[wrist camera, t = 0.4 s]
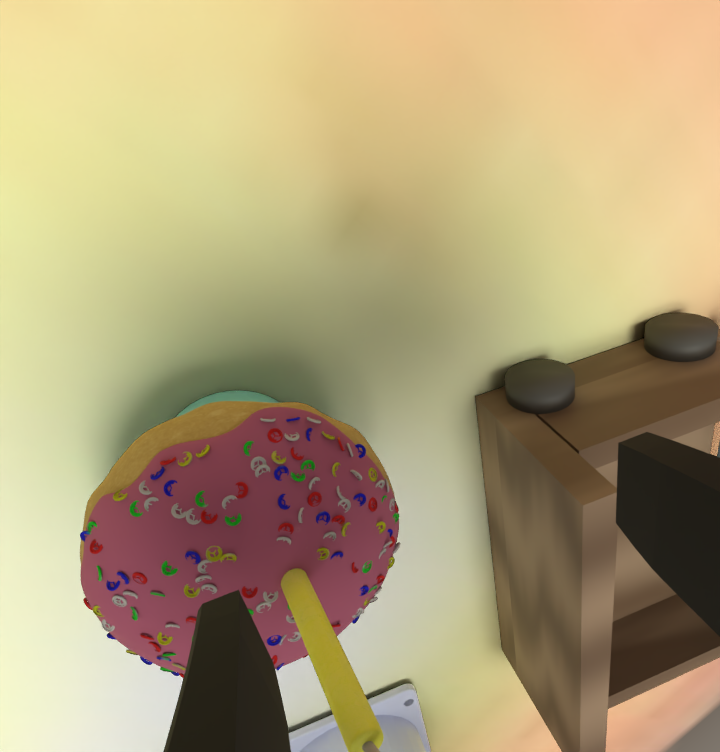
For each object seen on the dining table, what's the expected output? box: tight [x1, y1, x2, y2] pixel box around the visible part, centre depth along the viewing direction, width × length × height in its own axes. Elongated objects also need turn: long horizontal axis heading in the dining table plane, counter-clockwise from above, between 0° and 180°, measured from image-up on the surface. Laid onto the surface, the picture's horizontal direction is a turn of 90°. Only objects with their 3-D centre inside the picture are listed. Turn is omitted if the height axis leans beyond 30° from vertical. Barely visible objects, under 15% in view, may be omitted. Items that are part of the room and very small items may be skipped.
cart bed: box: [475, 313, 720, 752], centre depth 23 cm, size 18×10×6 cm, turn 12°
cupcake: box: [80, 391, 400, 752], centre depth 14 cm, size 9×8×12 cm
